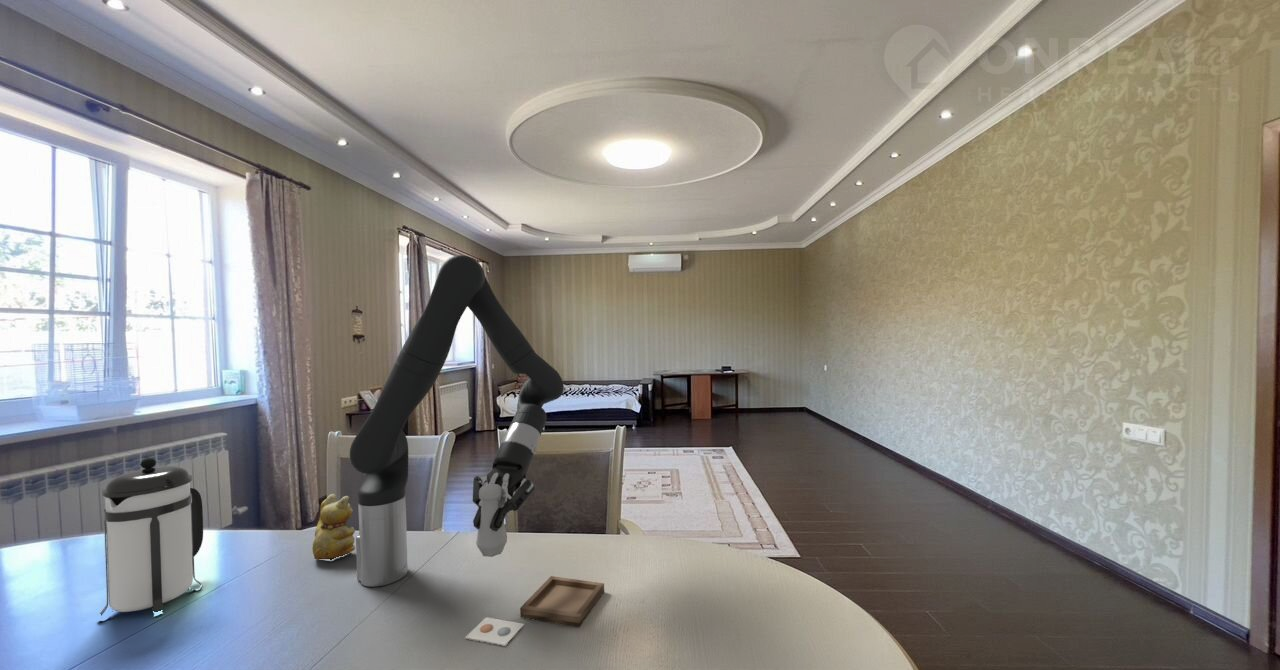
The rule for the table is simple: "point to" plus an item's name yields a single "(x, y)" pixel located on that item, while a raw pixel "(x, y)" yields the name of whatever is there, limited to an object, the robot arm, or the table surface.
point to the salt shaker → (487, 538)
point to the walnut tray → (563, 601)
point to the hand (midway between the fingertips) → (485, 528)
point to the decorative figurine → (333, 529)
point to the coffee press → (150, 536)
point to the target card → (494, 631)
